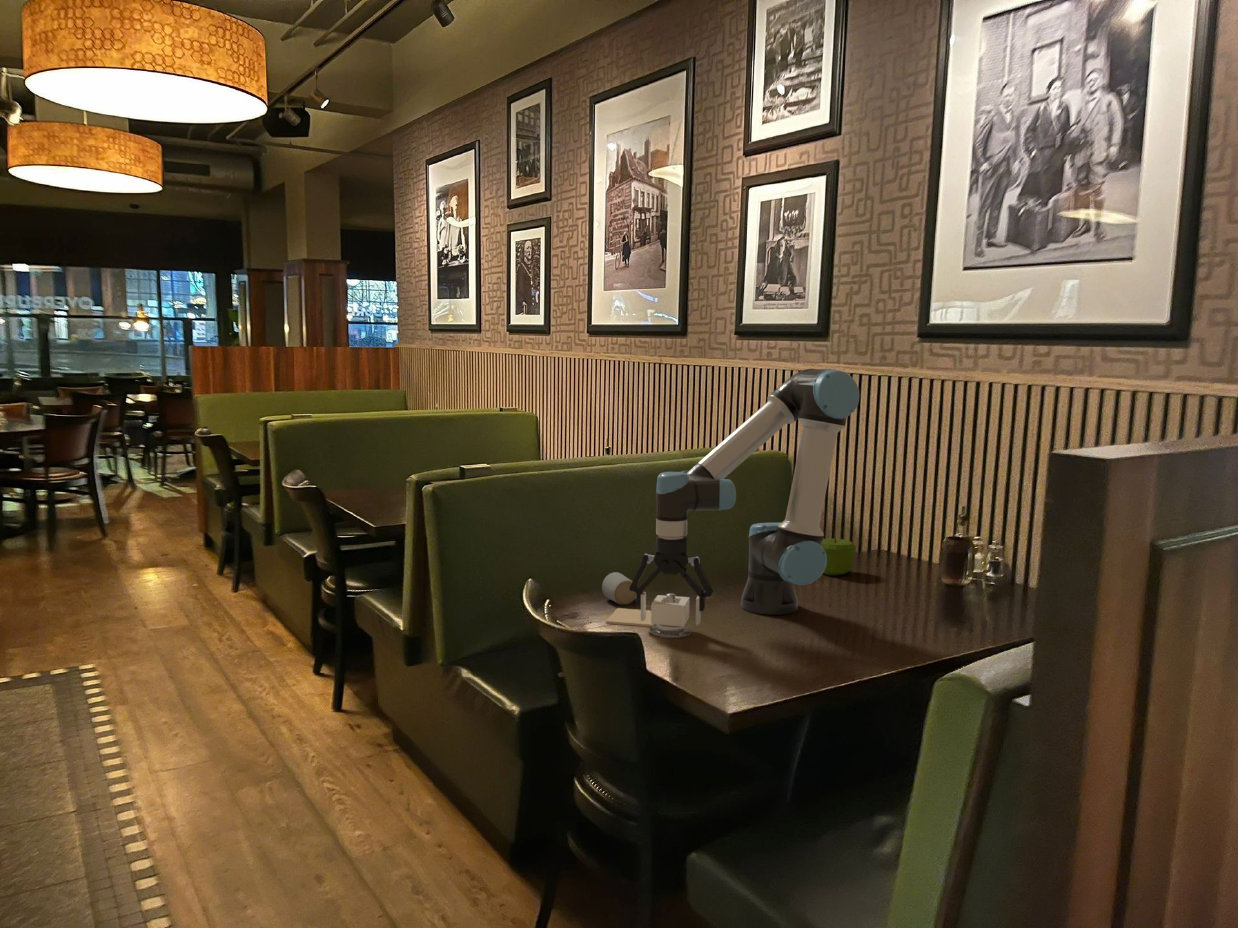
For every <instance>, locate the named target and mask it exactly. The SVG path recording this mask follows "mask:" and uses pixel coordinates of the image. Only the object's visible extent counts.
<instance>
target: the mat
mask: <svg viewBox="0 0 1238 928" xmlns="http://www.w3.org/2000/svg"><path fill="white" fill-rule="evenodd" d="M605 622H606V623H605V624H610V625H622V626H624V625H625V626H632V627H633V626H635V627H648V628H651V627H653V626H655V624H651V610H649V609H646V618H645V620H644V621H641V609H637V608H635V609H634V608H624V607H623V608H621V607H617V608H616V609H615V610H614V611H613V612H612V614H611V615H610V616H609V617H608V618H607V620H606V621H605Z"/></svg>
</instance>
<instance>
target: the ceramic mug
mask: <svg viewBox="0 0 1238 928" xmlns="http://www.w3.org/2000/svg"><path fill="white" fill-rule="evenodd" d="M632 582H633V580H632V579H630V578H628V577H627V576H625V575H624V574H622V573H621V572H617V571H616V572H615V571H614V572H613V571H612V572H611V573H608V575H606V576H605V578H604V579H603V581H602V584H601V591H602V594H603V595H604V596H605V597H606V598H607V599H608V600H610V601H612V602H614V603H615V604H617V605H620V606H627V605H630V604H631V603H633V602H634V601H635V600H636V601H637V594H636V592H634V591H630V590H629V588H630V586H631V584H632Z"/></svg>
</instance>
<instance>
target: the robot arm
mask: <svg viewBox="0 0 1238 928" xmlns="http://www.w3.org/2000/svg"><path fill="white" fill-rule="evenodd" d="M859 401H860V389H859V387H858V384H857V383H856V381H855V379H854V378H853V377H852V376H851V375H850V374H849V373H847V372H845V371H843V370H839V369H836V368H835V369H832V368H828V369H827V368H806V369H805V368H804V369H803V370H801V371H798V372H795V373H794V375H792V376H790V377H789V378H788V379H786V380H785V381H784V382H783V383H781V384H780V385H779V386H778V387H777V388H775V390H773V391H772V392H771V393H770V394H769V395H768V396H767V402H766V403H765V404H764V405H762V406H760V408H758V410H757V411H755V412H754V413H753V414H752V415H751V416H750V417H749V418H747V419H746V420H745V421H744V422H743V423H742V424H741V425H739V426H738V427H737V428H736V429H735V430H734V431H732V432H731V433H730V434H729V435H728V436H727V437H726V438H725V439H724V440H723V441H721V442H720V443H719V444H718V445H717V446H716V447H715V448H713V449H712V450H711V451H710V452H709V453H708V454H707V455H705V456H704V457H703V458H702V459H701V460H700V461H699V462H697V463H696V464H695V465H694V466H692V467H691V468H690V469H686V470H683V471H663V472H660V473H659V474H658V476H657V477H656V478H657V479H656V480H657V481H656V490H655V495H656V518H655V520H656V522H655V533H656V537H655V555H652V554H650V553H648V552H646V553H644V555H642V562H641V565H640V567H639V569H638V570H637V572H636V574H635V576H634V578H633V580H632V584H631V586H630V588H629V590H630V591H634V592H636V594H637V600H636V606H637V607H640V610H641V621H644V620H645V618H646V610H647V592H646V591H645V590H646V588H648V586H649V585H650V584H651V583H652V582H653V580H654V579H656V578H657V576H658V575H659V574H660V573H662V574H664V575H673V576H677V575H680V576H681V577H682V578H683V579H684V580H685V582H687V583H688V585H689V586H690V588H692V590H693V591H694V593H695V594H696V595H697V596H696V598H695V626H699V625H700V624H701V616H702V615H701V612H704V610H705V609H706V598H708V597H711V596H712V595H713V593H714V591H713V588H712V586H711V584H710V582H709V580H708V578H707V576H706V573H705V572H704V569H703V567H702V564H701V557H700V556H699V555H696V556H694V557H689V556H688V537H686V536H687V535H688V513H689V512H696V511H697V512H699V511H700V512H701V511H704V512H705V511H724V510H730V509H732V508H734V506H735V503H736V502H737V501H736V500H737V490H736V486H735V483H734V481H732V480H731V479H729V478H727V479H726V477H727V476H728V475H730V474H731V473H732V472H733V471H735V470H736V468H738V467H739V466H740V465H741V464H742V463H743V462H744V461H745V460H747V459H748V458H749V457H750V456H752V454H754V453H755V452H757V451H758V449H760V448H761V447H762V446H763V445H764V444H765V443H767V441H768V440H770V439H771V438H772V437H773V436H775V434H777V432H779V431H780V430H781V429H782V428H784V426H786V425H788V424H790V425H791V424H792V425H793V424H794V423H795V422H796V421H797V420H798V421H799V423H800V424H801V425H802V431H801V436H800V440H799V445H798V450H797V455H796V461H795V467H794V470H793V471H794V472H793V476H792V477H793V479H792V481H791V482H792V483H791V488H790V491H789V492H790V493H789V499H788V504H787V508H786V513H785V514H786V515H785V518H784V520H783V521H781V522H760V523H759V522H758V523H753V524H751V526H750V528H749V532H748V570H747V572H748V576H747V580H746V583H745V586H744V589H743V592H742V594H741V601H740V607H741V608H742V609H743V610H745V611H748V612H751V613H754V614H758V615H759V614H761V615H768V616H769V615H770V616H772V615H775V616H776V615H777V616H778V615H780V616H781V615H788V614H792V613H795V612H796V611H798V610H799V599H798V596H797V592H796V589H795V586H807V585H810V584H813V583H814V582H816V581H817V580H819V579H820V578H821V576H823V574H824V573H823V572H824V570H825V568H826V565H827V555H826V552H825V550H824V549H823V547H822V542H823V539H824V536H825V535H824V534H825V533H824V532H823V531H822V529H821V527H820V523H821V518H822V513H823V508H824V503H825V497H826V493H827V488H828V482H829V477H830V473H831V466H832V462H833V458H834V453H835V447H836V443H837V442H836V441H837V437H838V433H840V432H841V431H842V430H843V429H845V428H846V424H847V419H848V417H849V416H851V415H852V413H854V412H855V411H856V409H857V407H858V405H859V403H860V402H859ZM652 561H653V562H654V564H655V565H656V569H654V570H653V572H652V573H651V574H650V575H649V576H648V578H646V579H645V581H643V583H642V584H641V585H640V586H638V584H639V583H640V580H641V578H642V577H643V575H644V573H645V571H646V569H647V567H648V565H649V564H651V563H652ZM688 564H690V565H691V566H692V567H694V571H695V573H696V575H697V576H698V577H697V578H698V579H699V582H700V583H701V585H702V587H703V588H702V587H701V585H700V584H699V583H698V582H697V580H696V579H695V577H694V576H693V575H692V574H691V573H690V571H689V569H688V568H687V567H686V566H687V565H688ZM794 585H795V586H794Z"/></svg>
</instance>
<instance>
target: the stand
mask: <svg viewBox="0 0 1238 928" xmlns="http://www.w3.org/2000/svg"><path fill="white" fill-rule="evenodd" d="M665 596H666V603H675V596H676V593H672V592H671V593H669V592H668V593H666V595H665ZM649 628H650V629H649V633H650V635H651V636H654V637H656V638H661V639H667V640H671V639H672V640H674V639H683V638H687V637H690V635H691V634H692V630H691V628H690V627H688V626H686V625H685V626H671V625H659V624H654V626H653V627H649Z"/></svg>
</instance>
